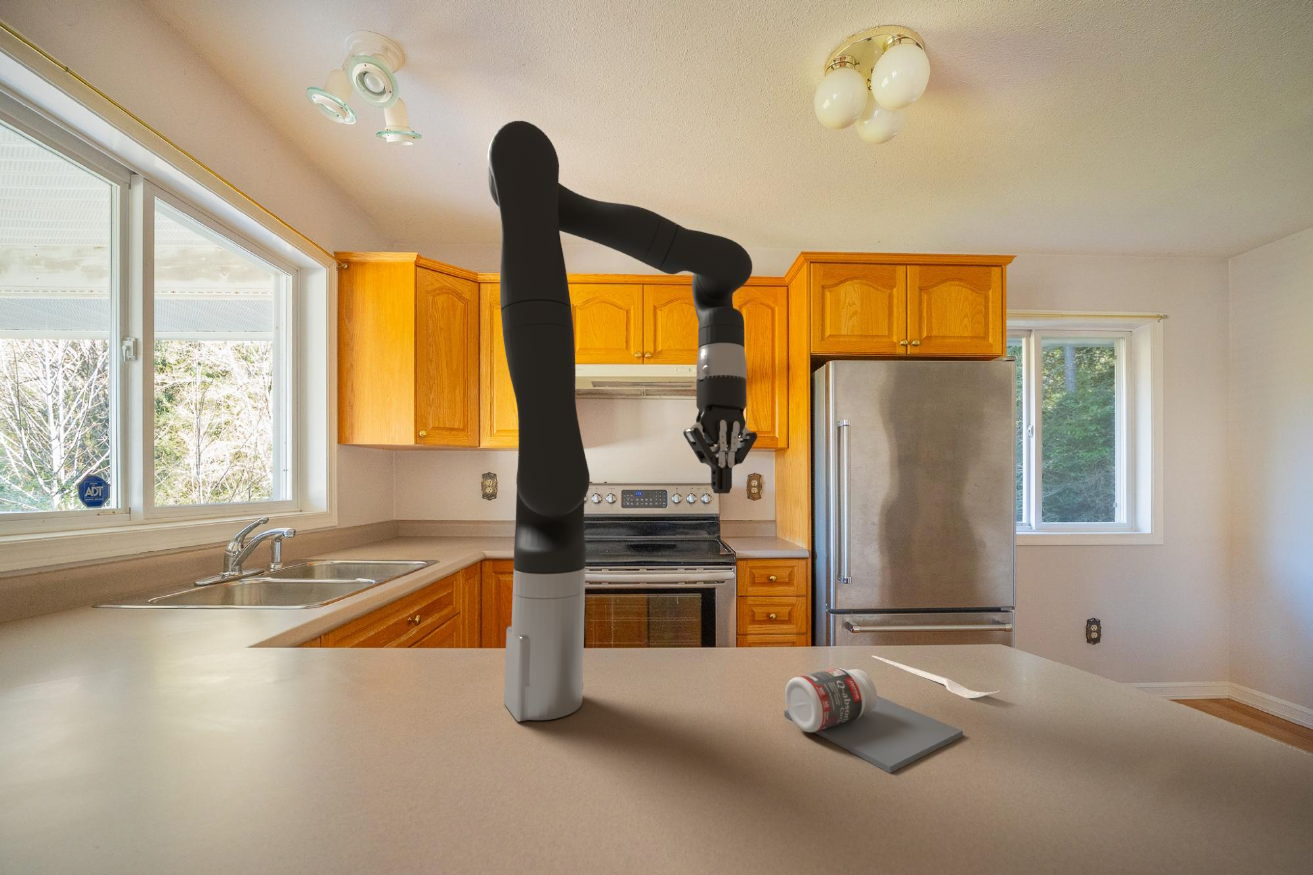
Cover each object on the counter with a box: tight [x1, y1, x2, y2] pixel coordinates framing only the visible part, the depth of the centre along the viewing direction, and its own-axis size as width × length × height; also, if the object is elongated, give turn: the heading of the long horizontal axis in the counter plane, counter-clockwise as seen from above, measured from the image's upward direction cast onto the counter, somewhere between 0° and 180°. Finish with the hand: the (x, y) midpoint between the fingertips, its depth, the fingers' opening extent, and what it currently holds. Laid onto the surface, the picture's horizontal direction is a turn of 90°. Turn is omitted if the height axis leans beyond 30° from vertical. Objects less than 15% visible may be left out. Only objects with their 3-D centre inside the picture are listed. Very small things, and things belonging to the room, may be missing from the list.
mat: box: [783, 695, 964, 774], centre depth 59 cm, size 14×14×1 cm
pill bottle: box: [784, 667, 878, 733], centre depth 59 cm, size 6×6×10 cm
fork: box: [871, 655, 1001, 699], centre depth 74 cm, size 3×20×2 cm, turn 25°
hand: (721, 493), depth 74 cm, fingers closed
